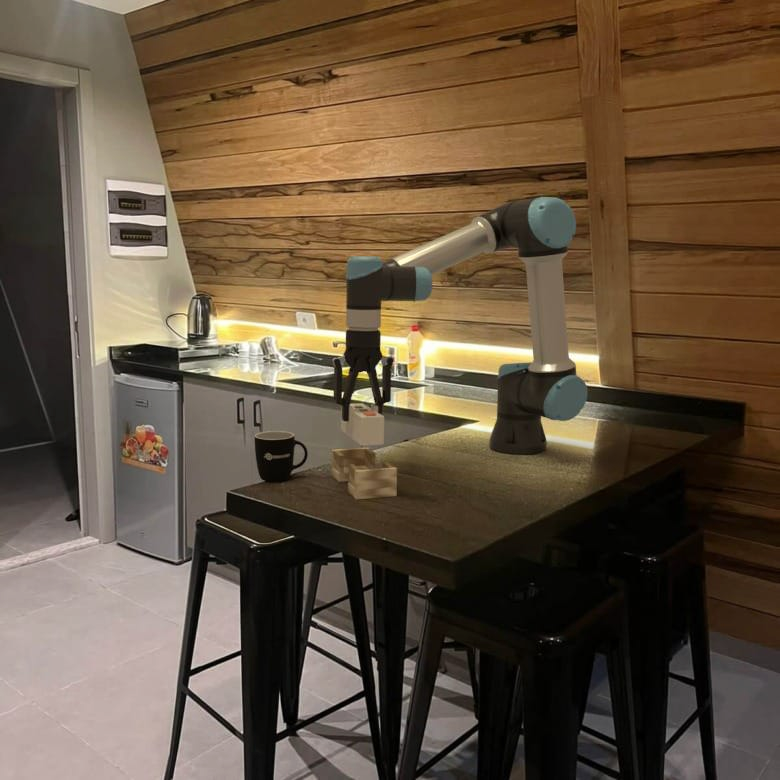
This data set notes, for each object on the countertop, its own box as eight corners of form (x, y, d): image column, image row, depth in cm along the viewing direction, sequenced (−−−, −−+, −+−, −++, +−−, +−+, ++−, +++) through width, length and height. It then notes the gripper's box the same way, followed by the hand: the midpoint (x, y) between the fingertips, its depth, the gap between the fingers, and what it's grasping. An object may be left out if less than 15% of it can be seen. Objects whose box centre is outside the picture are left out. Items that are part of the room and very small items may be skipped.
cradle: (368, 472, 188) (368, 447, 187) (396, 495, 169) (396, 468, 168) (331, 475, 185) (331, 449, 184) (355, 499, 166) (355, 471, 165)
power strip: (362, 428, 183) (362, 401, 182) (383, 444, 168) (384, 414, 167) (341, 429, 182) (341, 401, 181) (361, 445, 167) (361, 415, 166)
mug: (257, 485, 176) (257, 440, 175) (253, 474, 185) (252, 431, 183) (311, 481, 180) (311, 437, 178) (304, 471, 188) (303, 429, 186)
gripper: (397, 327, 178) (394, 429, 181) (318, 327, 172) (317, 433, 176) (408, 330, 171) (406, 436, 174) (326, 330, 165) (326, 440, 169)
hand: (361, 434), depth 175 cm, fingers closed on power strip, 5 cm apart
